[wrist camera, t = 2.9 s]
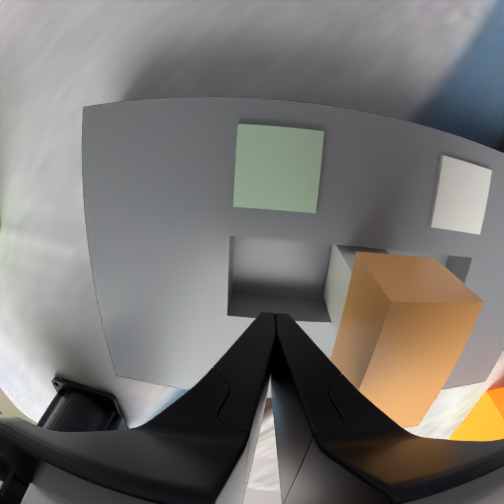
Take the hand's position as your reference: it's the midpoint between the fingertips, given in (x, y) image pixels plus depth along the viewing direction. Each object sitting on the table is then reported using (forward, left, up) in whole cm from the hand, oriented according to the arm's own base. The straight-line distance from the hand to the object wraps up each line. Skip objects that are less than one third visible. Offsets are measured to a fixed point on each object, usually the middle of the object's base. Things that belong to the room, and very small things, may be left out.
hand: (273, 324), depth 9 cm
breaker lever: (+4, 0, -5) cm, 6 cm away
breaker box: (+4, 0, -6) cm, 7 cm away
